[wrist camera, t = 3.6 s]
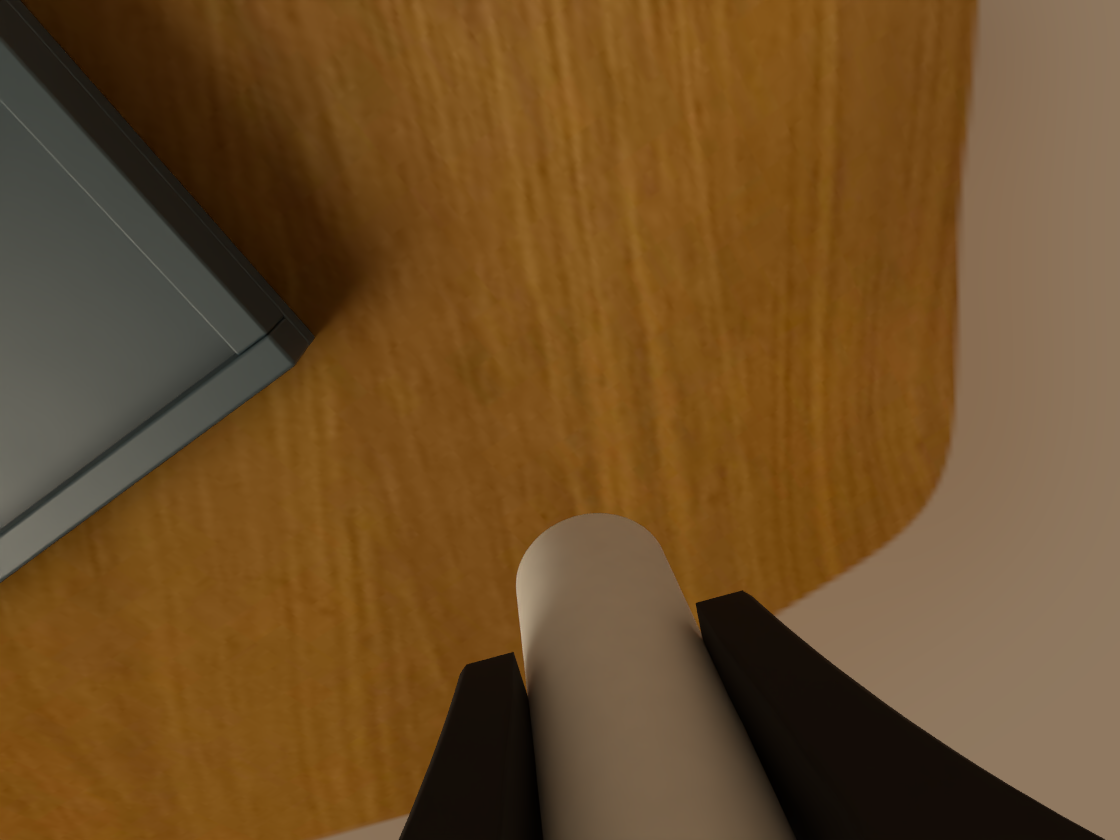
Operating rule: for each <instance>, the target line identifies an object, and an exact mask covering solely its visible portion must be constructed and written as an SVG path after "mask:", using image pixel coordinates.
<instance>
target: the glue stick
mask: <svg viewBox="0 0 1120 840" xmlns="http://www.w3.org/2000/svg"><path fill="white" fill-rule="evenodd" d="M516 592H517V601H518V611H519V620H520V629H521V638H522V647H523V657H524V666H525V675H526V684H527V694H528V700H529V710H530V719H531V728H532V737H533V746H534V755H535V765H536V776H537V786H538V795H539V804H540V814H541V823H542V832H543V840H796V837H795V835H794V833H793V831H792V829H791V827H790V824H789V822H788V820H787V818H786V816H785V814H784V812H783V809H782V807H781V805H780V803H779V801H778V799H777V796H776V794H775V792H774V790H773V788H772V786H771V783H770V781H769V779H768V777H767V775H766V773H765V770H764V768H763V766H762V764H761V762H760V760H759V758H758V755H757V753H756V751H755V749H754V747H753V745H752V742H751V740H750V738H749V736H748V734H747V732H746V730H745V727H744V725H743V723H742V721H741V720H740V718H739V716H738V714H737V712H736V710H735V708H734V706H733V704H732V702H731V700H730V698H729V696H728V694H727V691H726V689H725V687H724V685H723V683H722V681H721V678H720V676H719V674H718V672H717V670H716V668H715V665H714V663H713V661H712V659H711V657H710V655H709V652H708V650H707V648H706V646H705V644H704V642H703V639H702V634H701V632H700V630H699V628H698V626H697V624H696V621H695V619H694V617H693V615H692V613H691V611H690V608H689V606H688V604H687V602H686V600H685V598H684V595H683V593H682V591H681V589H680V587H679V585H678V582H677V580H676V578H675V576H674V574H673V572H672V570H671V567H670V565H669V563H668V561H667V559H666V557H665V554H664V552H663V550H662V548H661V546H660V544H659V543H658V541H657V540H656V538H655V537H654V536H653V535H652V534H651V533H650V532H649V531H648V530H646V529H645V528H644V527H643V526H641V525H639V524H638V523H636V522H634V521H632V520H630V519H627V518H625V517H621V516H618V515H613V514H606V513H593V514H584V515H579V516H575V517H572V518H569V519H566V520H564V521H561V522H559V523H557V524H555V525H554V526H552V527H550V528H549V529H547V530H546V531H545V532H543V533H542V534H541V535H540V536H539V537H538V538H537V539H536V540H535V541H534V542H533V543H532V544H531V546H530V547H529V548H528V550H527V551H526V553H525V555H524V556H523V558H522V560H521V563H520V565H519V568H518V573H517V579H516Z"/></svg>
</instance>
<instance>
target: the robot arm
mask: <svg viewBox="0 0 1120 840" xmlns="http://www.w3.org/2000/svg"><path fill="white" fill-rule="evenodd" d="M696 608H697V613H698V618H699V623H700V629H701V634H702V639H703V642H704V644H705V646H706V648H707V650H708V652H709V655H710V657H711V659H712V661H713V663H714V665H715V668H716V670H717V672H718V674H719V676H720V678H721V681H722V683H723V685H724V687H725V689H726V691H727V694H728V696H729V698H730V700H731V702H732V704H733V706H734V708H735V710H736V712H737V714H738V716H739V718H740V720H741V721H742V723H743V725H744V727H745V730H746V732H747V734H748V736H749V738H750V740H751V742H752V745H753V747H754V749H755V751H756V753H757V755H758V758H759V760H760V762H761V764H762V766H763V768H764V770H765V773H766V775H767V777H768V779H769V781H770V783H771V786H772V788H773V790H774V792H775V794H776V796H777V799H778V801H779V803H780V805H781V807H782V809H783V812H784V814H785V816H786V818H787V820H788V822H789V824H790V827H791V829H792V831H793V833H794V835H795V837H796V840H1105V839H1103V838H1101V837H1099V836H1098V835H1096V834H1094V833H1092V832H1090V831H1089V830H1087V829H1085V828H1083V827H1081V826H1079V825H1078V824H1076V823H1074V822H1072V821H1070V820H1069V819H1067V818H1065V817H1063V816H1061V815H1060V814H1057V813H1056V812H1054V811H1053V810H1051V809H1049V808H1048V807H1046V806H1044V805H1042V804H1041V803H1039V802H1037V801H1036V800H1034V799H1032V798H1031V797H1029V796H1027V795H1025V794H1024V793H1022V792H1020V791H1019V790H1016V789H1015V788H1013V787H1012V786H1010V785H1008V784H1007V783H1005V782H1003V781H1002V780H1000V779H999V778H997V777H995V776H994V775H992V774H990V773H989V772H987V771H986V770H984V769H982V768H981V767H979V766H977V765H976V764H974V763H973V762H971V761H970V760H968V759H967V758H965V757H964V756H962V755H960V754H959V753H957V752H956V751H954V750H953V749H951V748H950V747H948V746H947V745H945V744H944V743H942V742H941V741H939V740H938V739H936V738H935V737H933V736H932V735H930V734H929V733H927V732H926V731H924V730H923V729H921V728H920V727H918V726H917V725H915V724H914V723H912V722H911V721H909V720H908V719H907V718H905V717H903V716H902V715H901V714H900V713H898V712H897V711H895V710H894V709H893V708H891V707H890V706H888V705H887V704H885V703H884V702H883V701H881V700H880V699H879V698H877V697H876V696H875V695H873V694H872V693H871V692H869V691H868V690H867V689H865V688H864V687H863V686H861V685H860V684H859V683H857V682H856V681H855V680H853V679H852V678H851V677H849V676H848V675H847V674H845V673H844V672H842V671H841V670H840V669H838V668H837V667H836V666H835V665H833V664H832V663H831V662H830V661H828V660H827V659H826V658H824V657H823V656H822V655H821V654H819V653H818V652H817V651H816V650H815V649H813V648H812V647H811V646H809V645H808V644H807V643H806V642H805V641H803V640H802V639H801V638H800V637H798V636H797V635H796V634H795V633H794V632H792V631H791V630H790V629H789V628H788V627H787V626H785V625H784V624H783V623H782V622H781V621H779V620H778V619H777V618H776V617H775V616H774V615H773V614H771V613H770V612H769V611H768V610H767V609H766V608H765V607H763V606H762V605H761V604H760V603H759V602H758V601H757V600H756V599H755V598H753V597H752V596H751V595H749V594H747V593H746V592H744V591H739V592H735V593H731V594H728V595H724V596H720V597H716V598H713V599H709V600H705V601H702V602H698V603H696ZM399 840H543V832H542V823H541V814H540V804H539V795H538V786H537V776H536V765H535V755H534V746H533V737H532V728H531V719H530V710H529V700H528V696H527V693H526V690H525V686H524V683H523V680H522V677H521V674H520V671H519V668H518V665H517V662H516V659H515V655H514V652H512V653H508V654H504V655H500V656H497V657H493V658H489V659H486V660H482V661H478V662H474V663H471V664H467V665H466V666H465V667H464V669H463V670H462V672H461V673H460V676H459V679H458V683H457V686H456V690H455V693H454V696H453V699H452V702H451V705H450V708H449V712H448V715H447V717H446V720H445V723H444V726H443V729H442V732H441V735H440V737H439V740H438V743H437V746H436V748H435V751H434V754H433V757H432V759H431V762H430V765H429V767H428V770H427V772H426V775H425V777H424V780H423V782H422V785H421V787H420V790H419V792H418V795H417V797H416V800H415V802H414V805H413V807H412V810H411V812H410V815H409V817H408V819H407V822H406V824H405V827H404V829H403V831H402V833H401V836H400V838H399Z"/></svg>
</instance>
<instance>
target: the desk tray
mask: <svg viewBox="0 0 1120 840" xmlns="http://www.w3.org/2000/svg"><path fill="white" fill-rule="evenodd" d="M314 338H315V337H314V335H313V334H312V333H311V332H310V331H309V329H308V328H307V327H306V326H305V325H304V324H303V323H302V321H301V320H300V319H299V318H298V317H297V316H296V315H295V313H294V312H293V311H292V310H291V309H290V308H289V307H288V305H287V304H286V303H285V302H284V301H283V300H282V299H281V298H280V296H279V295H278V294H277V293H276V292H275V291H274V290H273V288H272V287H271V286H270V285H269V284H268V283H267V282H266V280H265V279H264V278H263V277H262V276H261V275H260V274H259V272H258V271H257V270H256V269H255V268H254V267H253V266H252V264H251V263H250V262H249V261H248V260H247V259H246V258H245V256H244V255H243V254H242V253H241V252H240V251H239V250H238V248H237V247H236V246H235V245H234V244H233V243H232V242H231V240H230V239H229V238H228V237H227V236H226V235H225V234H224V232H223V231H222V230H221V229H220V228H219V227H218V226H217V224H216V223H215V222H214V221H213V220H212V219H211V218H210V216H209V215H208V214H207V213H206V212H205V211H204V210H203V208H202V207H201V206H200V205H199V204H198V203H197V202H196V200H195V199H194V198H193V197H192V196H191V195H190V194H189V193H188V191H187V190H186V189H185V188H184V187H183V186H182V185H181V183H180V182H179V181H178V180H177V179H176V178H175V177H174V175H173V174H172V173H171V172H170V171H169V170H168V169H167V167H166V166H165V165H164V164H163V163H162V162H161V161H160V159H159V158H158V157H157V156H156V155H155V154H154V153H153V151H152V150H151V149H150V148H149V147H148V146H147V145H146V143H145V142H144V141H143V140H142V139H141V138H140V137H139V135H138V134H137V133H136V132H135V131H134V130H133V129H132V127H131V126H130V125H129V124H128V123H127V122H126V121H125V119H124V118H123V117H122V116H121V115H120V114H119V113H118V111H117V110H116V109H115V108H114V107H113V106H112V105H111V103H110V102H109V101H108V100H107V99H106V98H105V97H104V95H103V94H102V93H101V92H100V91H99V90H98V89H97V88H96V86H95V85H94V84H93V83H92V82H91V81H90V80H89V78H88V77H87V76H86V75H85V74H84V73H83V72H82V70H81V69H80V68H79V67H78V66H77V65H76V64H75V62H74V61H73V60H72V59H71V58H70V57H69V56H68V54H67V53H66V52H65V51H64V50H63V49H62V48H61V46H60V45H59V44H58V43H57V42H56V41H55V40H54V38H53V37H52V36H51V35H50V34H49V33H48V32H47V30H46V29H45V28H44V27H43V26H42V25H41V24H40V22H39V21H38V20H37V19H36V18H35V17H34V16H33V14H32V13H31V12H30V11H29V10H28V9H27V8H26V6H25V5H24V4H23V3H22V2H21V1H20V0H0V583H1V582H2V581H3V580H5V579H6V578H8V577H9V576H10V575H12V574H13V573H14V572H16V571H17V570H18V569H20V568H21V567H22V566H24V565H25V564H27V563H28V562H29V561H31V560H32V559H33V558H35V557H36V556H37V555H39V554H40V553H41V552H43V551H44V550H46V549H47V548H48V547H50V546H51V545H52V544H54V543H55V542H56V541H58V540H59V539H60V538H62V537H63V536H65V535H66V534H67V533H69V532H70V531H71V530H73V529H74V528H75V527H77V526H78V525H79V524H81V523H82V522H84V521H85V520H86V519H88V518H89V517H90V516H92V515H93V514H94V513H96V512H97V511H98V510H100V509H101V508H103V507H104V506H105V505H107V504H108V503H109V502H111V501H112V500H113V499H115V498H116V497H117V496H119V495H120V494H122V493H123V492H124V491H126V490H127V489H128V488H130V487H131V486H132V485H134V484H135V483H136V482H138V481H139V480H141V479H142V478H143V477H145V476H146V475H147V474H149V473H150V472H151V471H153V470H154V469H155V468H157V467H158V466H159V465H161V464H162V463H164V462H165V461H166V460H168V459H169V458H170V457H172V456H173V455H174V454H176V453H177V452H178V451H180V450H181V449H183V448H184V447H185V446H187V445H188V444H189V443H191V442H192V441H193V440H195V439H196V438H197V437H199V436H200V435H202V434H203V433H204V432H206V431H207V430H208V429H210V428H211V427H212V426H214V425H215V424H216V423H218V422H219V421H221V420H222V419H223V418H225V417H226V416H227V415H229V414H230V413H231V412H233V411H234V410H235V409H237V408H238V407H240V406H241V405H242V404H244V403H245V402H246V401H248V400H249V399H250V398H252V397H253V396H254V395H256V394H257V393H259V392H260V391H261V390H263V389H264V388H265V387H267V386H268V385H269V384H271V383H272V382H273V381H275V380H276V379H278V378H279V377H280V376H282V375H283V374H284V373H286V372H287V371H288V370H290V369H291V368H292V367H294V366H295V364H296V363H297V362H298V360H299V359H300V357H301V356H302V355H303V353H304V352H305V350H306V349H307V348H308V346H309V345H310V344H311V343H312V341H313V340H314Z"/></svg>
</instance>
